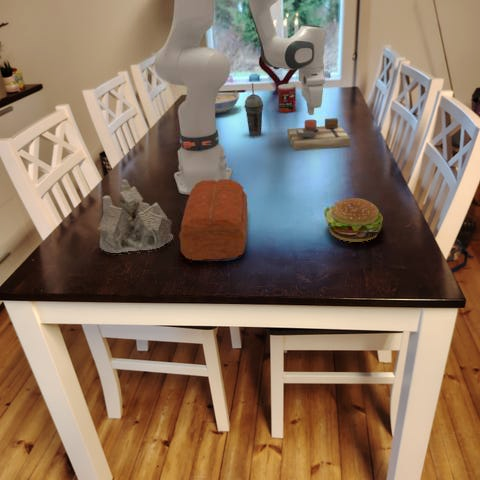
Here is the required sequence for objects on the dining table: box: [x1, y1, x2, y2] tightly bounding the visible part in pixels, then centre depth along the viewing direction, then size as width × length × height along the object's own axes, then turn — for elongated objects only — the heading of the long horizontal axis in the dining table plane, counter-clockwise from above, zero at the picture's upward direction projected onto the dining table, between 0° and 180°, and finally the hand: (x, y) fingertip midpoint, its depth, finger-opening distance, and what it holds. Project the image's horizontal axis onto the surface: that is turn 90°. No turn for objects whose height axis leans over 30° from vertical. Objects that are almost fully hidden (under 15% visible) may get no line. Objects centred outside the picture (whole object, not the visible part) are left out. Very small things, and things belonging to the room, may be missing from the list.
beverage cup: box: [244, 82, 264, 138], centre depth 178 cm, size 7×7×20 cm
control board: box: [286, 124, 351, 152], centre depth 171 cm, size 16×20×4 cm
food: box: [323, 197, 384, 243], centre depth 112 cm, size 14×14×8 cm
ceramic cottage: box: [97, 179, 174, 253], centre depth 113 cm, size 16×16×15 cm
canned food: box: [277, 83, 297, 114], centre depth 207 cm, size 8×8×11 cm
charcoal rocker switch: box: [296, 130, 315, 137], centre depth 166 cm, size 4×6×1 cm, turn 93°
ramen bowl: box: [215, 89, 246, 115], centre depth 214 cm, size 25×23×8 cm
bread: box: [178, 179, 248, 260], centre depth 115 cm, size 16×27×11 cm, turn 178°
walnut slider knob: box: [324, 117, 339, 128], centre depth 173 cm, size 2×4×3 cm, turn 93°
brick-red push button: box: [304, 119, 318, 129], centre depth 172 cm, size 4×4×2 cm
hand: (310, 113), depth 170 cm, fingers closed
